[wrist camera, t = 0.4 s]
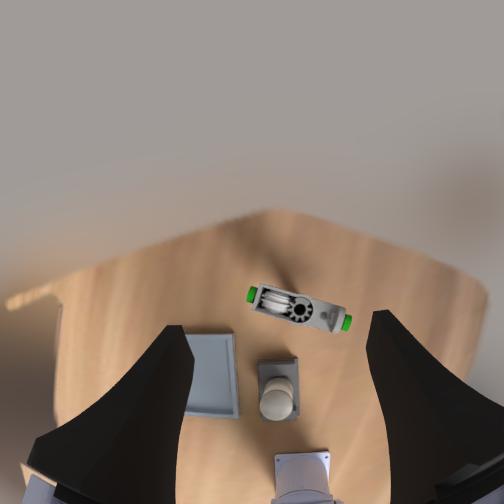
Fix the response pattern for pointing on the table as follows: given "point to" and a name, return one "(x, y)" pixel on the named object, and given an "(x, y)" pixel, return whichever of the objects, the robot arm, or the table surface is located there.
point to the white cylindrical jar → (277, 399)
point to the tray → (213, 376)
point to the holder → (280, 369)
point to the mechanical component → (298, 308)
